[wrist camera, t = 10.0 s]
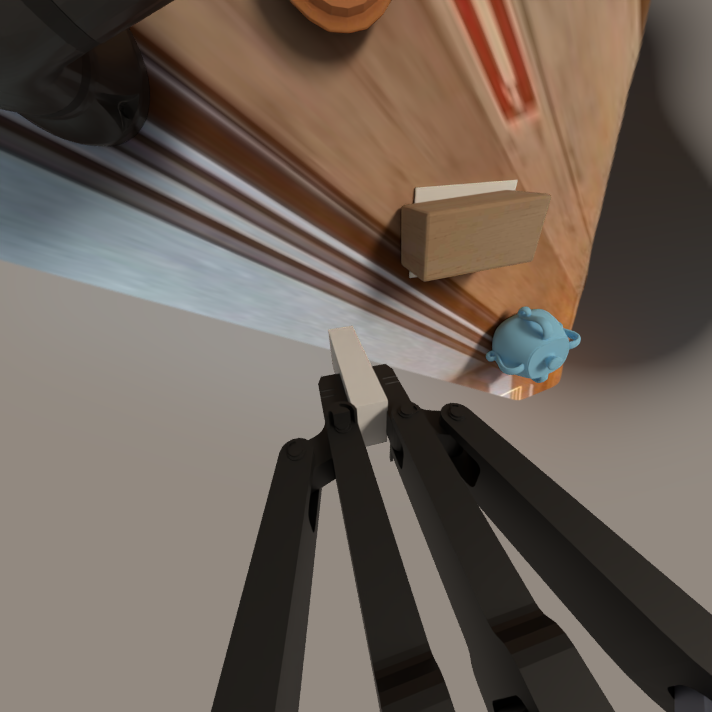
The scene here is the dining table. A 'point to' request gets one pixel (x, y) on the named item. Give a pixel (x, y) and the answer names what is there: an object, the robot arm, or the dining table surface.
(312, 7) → the pie
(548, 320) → the decorative pot
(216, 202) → the dining table surface
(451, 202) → the wooden block
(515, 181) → the mat
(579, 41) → the dining table surface
